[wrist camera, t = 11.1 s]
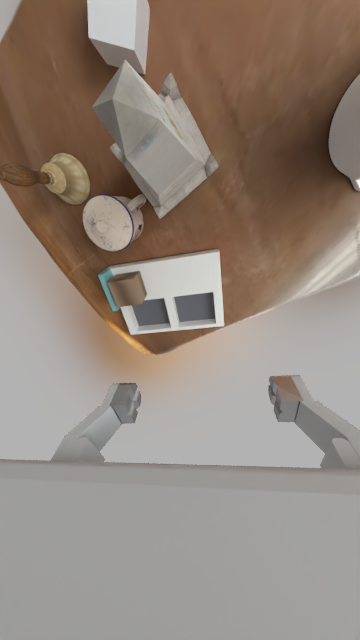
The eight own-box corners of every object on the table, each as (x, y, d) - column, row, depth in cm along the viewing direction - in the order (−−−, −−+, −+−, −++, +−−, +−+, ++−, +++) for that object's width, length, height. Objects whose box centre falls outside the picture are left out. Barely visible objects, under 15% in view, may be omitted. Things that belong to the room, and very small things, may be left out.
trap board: (218, 248, 42) (221, 256, 37) (223, 319, 52) (226, 335, 46) (110, 265, 47) (97, 275, 41) (133, 328, 57) (126, 343, 51)
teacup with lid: (123, 250, 45) (102, 265, 35) (94, 214, 41) (61, 219, 31) (164, 217, 40) (152, 224, 30) (135, 173, 36) (112, 164, 27)
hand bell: (90, 209, 41) (36, 215, 27) (51, 198, 40) (-24, 198, 27) (90, 161, 36) (26, 139, 23) (46, 146, 36) (-47, 116, 22)
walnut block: (139, 270, 44) (133, 278, 39) (147, 294, 47) (141, 303, 43) (115, 274, 45) (107, 282, 41) (124, 297, 48) (117, 307, 44)
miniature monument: (213, 175, 36) (246, 120, 10) (170, 213, 40) (117, 241, 14) (180, 112, 32) (101, -226, 6) (135, 161, 36) (-22, 75, 10)
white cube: (107, -3, 26) (85, -50, 21) (150, 10, 26) (138, -35, 21) (107, 65, 30) (88, 37, 24) (145, 75, 30) (134, 50, 25)
